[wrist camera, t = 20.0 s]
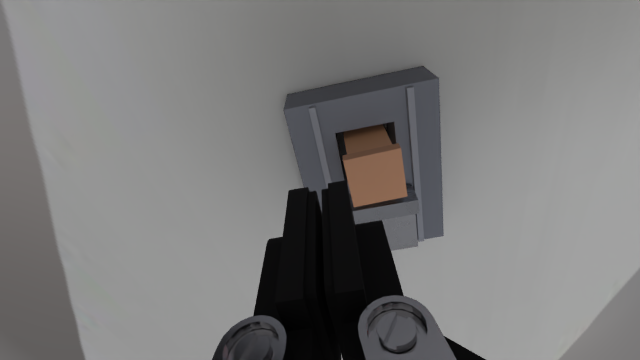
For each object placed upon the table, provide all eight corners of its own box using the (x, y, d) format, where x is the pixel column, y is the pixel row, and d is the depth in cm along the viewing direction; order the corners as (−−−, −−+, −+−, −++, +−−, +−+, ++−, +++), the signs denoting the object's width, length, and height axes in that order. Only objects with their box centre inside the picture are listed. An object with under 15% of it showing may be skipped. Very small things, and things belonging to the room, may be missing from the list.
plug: (386, 148, 39) (407, 196, 30) (345, 157, 39) (353, 207, 30) (380, 108, 36) (400, 147, 28) (336, 119, 37) (343, 160, 28)
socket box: (423, 66, 34) (440, 79, 29) (430, 210, 43) (444, 238, 38) (287, 94, 35) (283, 111, 31) (321, 229, 44) (322, 258, 39)
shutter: (410, 183, 35) (418, 199, 32) (415, 240, 38) (422, 258, 36) (337, 196, 35) (339, 213, 33) (349, 251, 39) (351, 270, 37)
